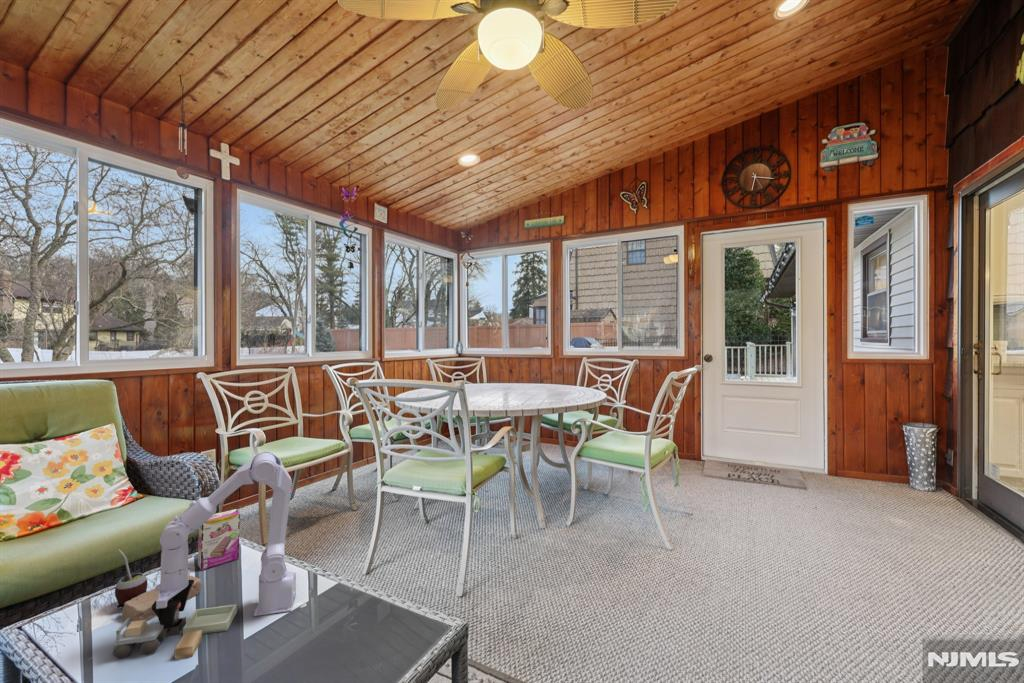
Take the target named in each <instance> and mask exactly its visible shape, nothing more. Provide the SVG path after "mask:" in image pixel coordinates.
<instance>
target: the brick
mask: <svg viewBox="0 0 1024 683" xmlns="http://www.w3.org/2000/svg"><path fill="white" fill-rule="evenodd" d="M189 580H194V583H193V585H192V587H191V589H190V591H189V594H188V597H187V601H189V600H191V599H192V598H194V597H195V596H197V595H199V593H200V592H201V591H202V580H201V579H200V578H198V577H196V576H193V575H190V577H189ZM158 597H159V591H155V587H154V588H152V589H150V590H148V591H147V590H146V592H145V593H143V594H140V595H139V596H137V597H135V598H133V599H131V600H129V601H127V602H125V603H124V607H122V612H121V613H122V618H123V619H124V621H125V620H126V619H127V618H130V617H131V622H132V621H139V620H147V622H149V621H150V620H152V619H155V617H157V615H156V614H155V612H154V611H153V610H152V605H153V603H154V602H155V601H157V600H158Z"/></svg>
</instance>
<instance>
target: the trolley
mask: <svg viewBox="0 0 1024 683" xmlns="http://www.w3.org/2000/svg"><path fill="white" fill-rule="evenodd" d="M147 622H148V621H147V620H139V621H132V622H131V617H130V618H127V619H126V620H125V619H124V621H123V622H122V623H121V625H119V627H118V628H117V629H116V630H115V636H116V637H115V639H116V640H115V643H114V644H115V648H113V651H112V655H113V657H114V658H115V659H119V660H120V659H121V660H122V659H125V658H126V657H128V656H129V654H130V653H131V652H132V651H133V649H134V648H133V647H135V646H136V645H138V643H143V644H142V645H141V646H140V651H141V653H142V654H144V655H148V656H149V655H152V654H154V653H155V652H156V651H157V649H159V647H160V645H161V643H162V641H164V640H165V638H167V636H166V635H167V629H163V628H164V626H163V625H160V622H156V623H150V624H148V623H147ZM124 628H125V630H124V631H123V629H124ZM122 631H123V632H122Z"/></svg>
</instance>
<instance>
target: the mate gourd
mask: <svg viewBox="0 0 1024 683" xmlns="http://www.w3.org/2000/svg"><path fill="white" fill-rule="evenodd" d="M118 552H119V553H120V555H121V556H122V558H123V562H124V563H125V564H124V565H125V567H126V572H127V575H125V576H123V577H121V578H120V579H119V580H118V581H117V583H116V585H115V587H114V597H115V599H116V602H117V609H123V607H124V603H125V602H127V601H129V600H131V599H133V598H135V597H137V596H139V595H140V594H143V593H145V592H147V589H148V579H147V576H146V575H145V574H144V573H143V572H133V573H131V571H130V567H129V562H128V558H127V557H126V556H127V555H125V553H124V552H123V551H122V550H121V549H118Z"/></svg>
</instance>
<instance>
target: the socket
mask: <svg viewBox="0 0 1024 683" xmlns="http://www.w3.org/2000/svg"><path fill="white" fill-rule="evenodd" d="M186 624H187V616H185V617H179V626H177V627H172V628H169V629H167V635H166V637H169V636H175V635H180V634H181V632H183V628H184V627H185V625H186Z"/></svg>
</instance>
